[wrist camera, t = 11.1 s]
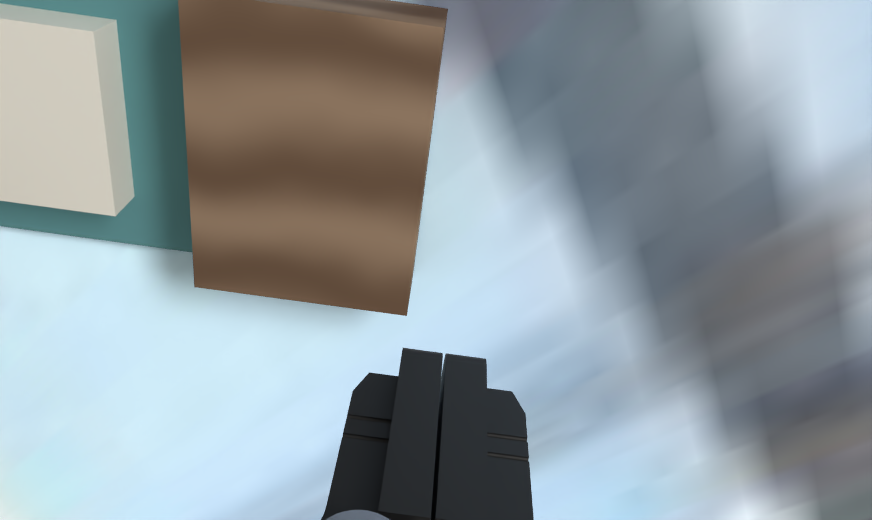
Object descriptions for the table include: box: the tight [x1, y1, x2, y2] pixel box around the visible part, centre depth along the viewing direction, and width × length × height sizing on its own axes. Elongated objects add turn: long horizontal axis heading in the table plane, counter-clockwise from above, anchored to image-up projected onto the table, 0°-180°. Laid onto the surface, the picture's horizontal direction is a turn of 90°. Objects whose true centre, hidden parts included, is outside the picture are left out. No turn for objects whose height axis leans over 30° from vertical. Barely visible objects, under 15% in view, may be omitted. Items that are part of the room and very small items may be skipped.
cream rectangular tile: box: [0, 3, 135, 216], centre depth 38 cm, size 10×7×2 cm
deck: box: [178, 0, 448, 316], centre depth 38 cm, size 16×12×4 cm
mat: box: [0, 0, 193, 252], centre depth 39 cm, size 16×12×1 cm
